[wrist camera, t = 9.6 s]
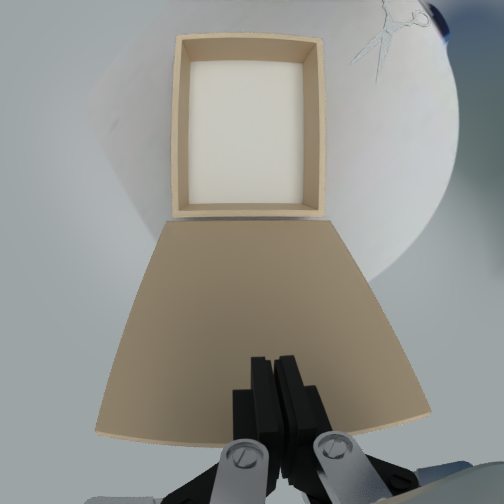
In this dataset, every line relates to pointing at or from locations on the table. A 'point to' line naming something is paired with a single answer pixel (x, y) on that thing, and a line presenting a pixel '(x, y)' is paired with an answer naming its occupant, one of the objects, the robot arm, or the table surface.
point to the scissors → (389, 34)
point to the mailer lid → (253, 333)
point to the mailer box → (248, 126)
